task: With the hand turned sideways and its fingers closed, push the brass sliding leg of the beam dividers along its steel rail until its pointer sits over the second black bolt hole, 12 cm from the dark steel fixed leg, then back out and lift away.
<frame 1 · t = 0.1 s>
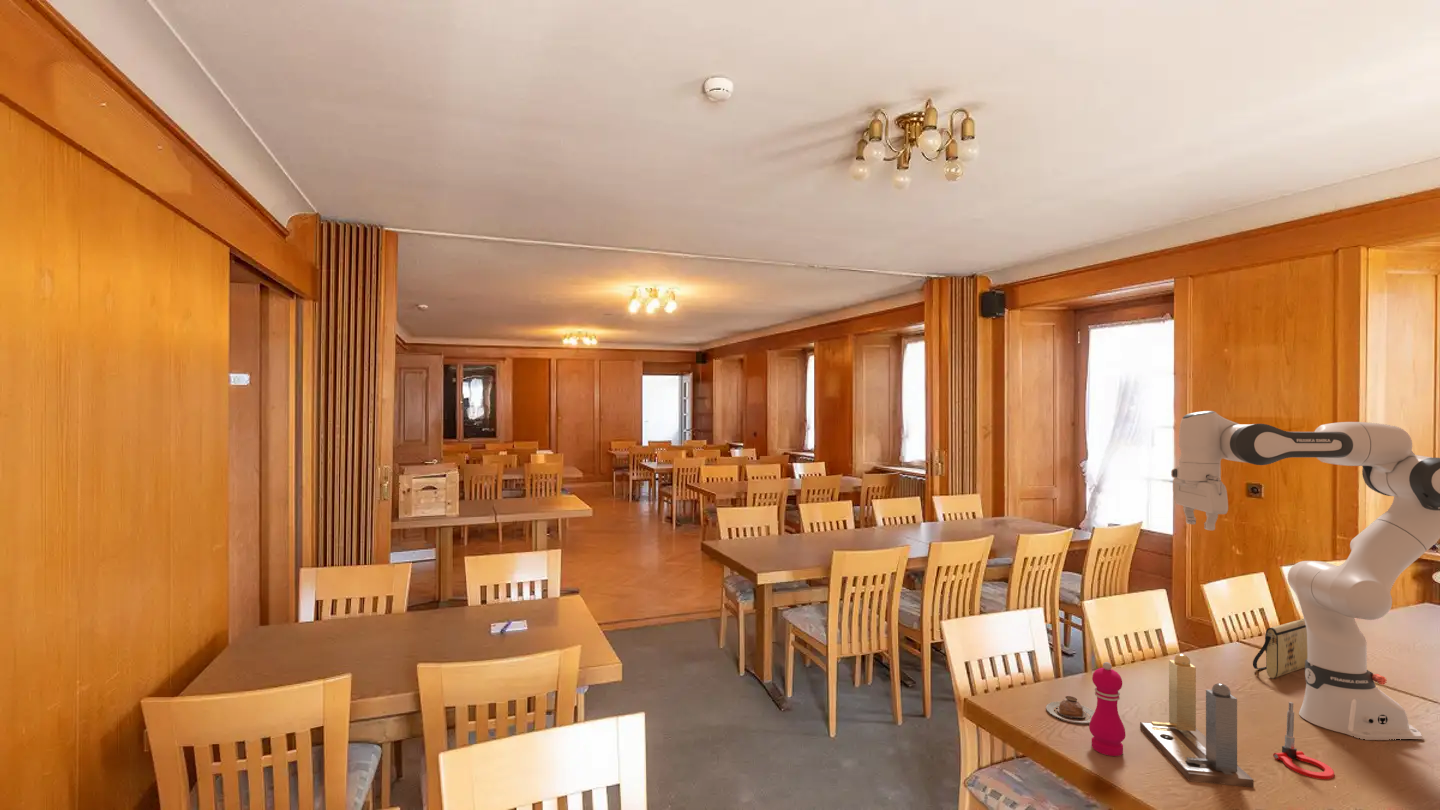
hand: (1200, 526, 175), 48 cm above the table, tool pointing down, fingers open, 8 cm apart
pastry: (1071, 716, 173), on the table
walnut board: (1192, 755, 152), on the table
pepper mill: (1107, 750, 155), on the table
bolt strip: (1184, 746, 153), on the walnut board, point 1 cm above the table
clutch purse: (1284, 669, 204), on the table
tow hook: (1306, 768, 147), on the table
sliding leg: (1171, 690, 161), point 11 cm above the table, slide at -5.0 cm
fixed leg: (1209, 724, 145), on the bolt strip, point 11 cm above the table
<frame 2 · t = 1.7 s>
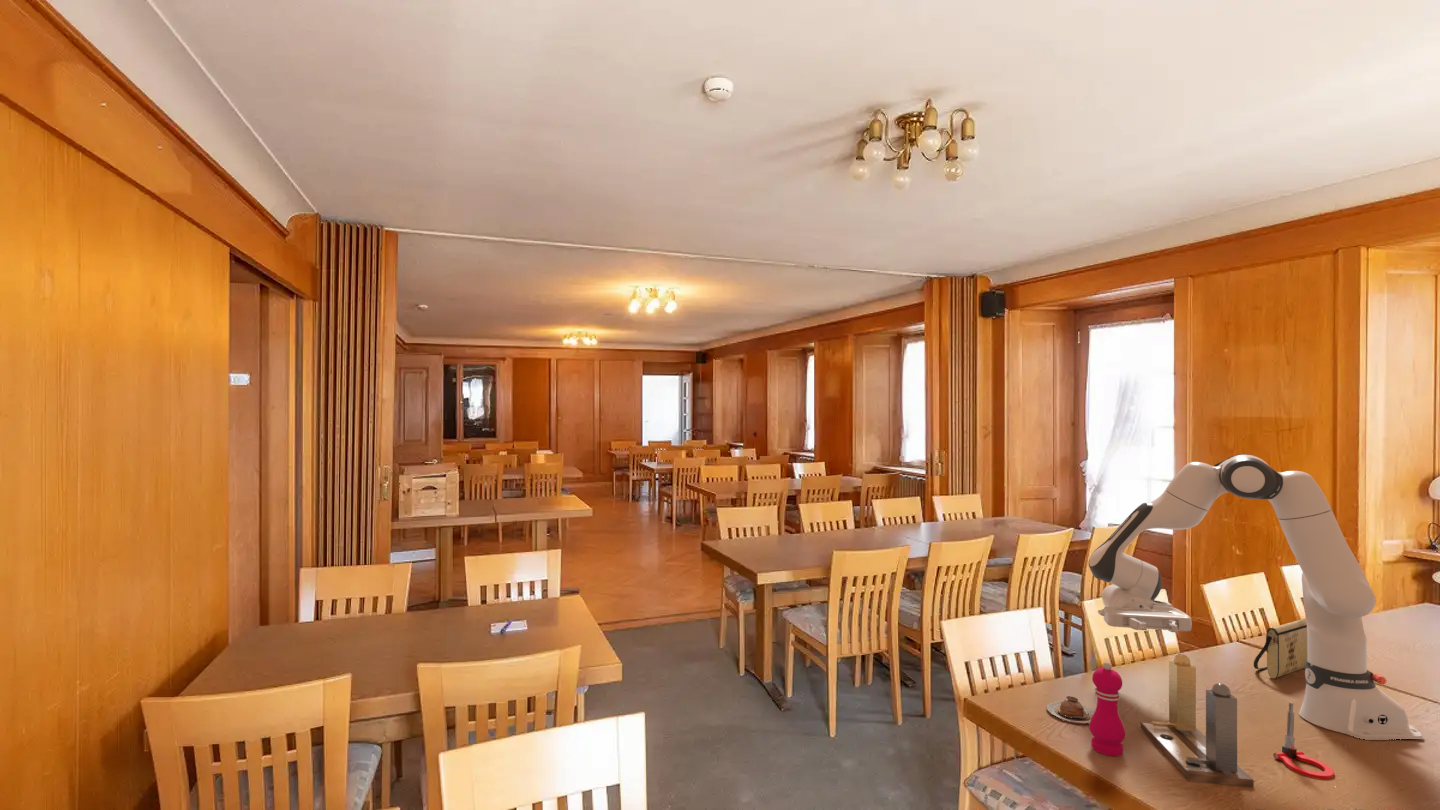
hand: (1159, 628, 173), 22 cm above the table, tool horizontal, fingers open, 6 cm apart
nothing on the table moved.
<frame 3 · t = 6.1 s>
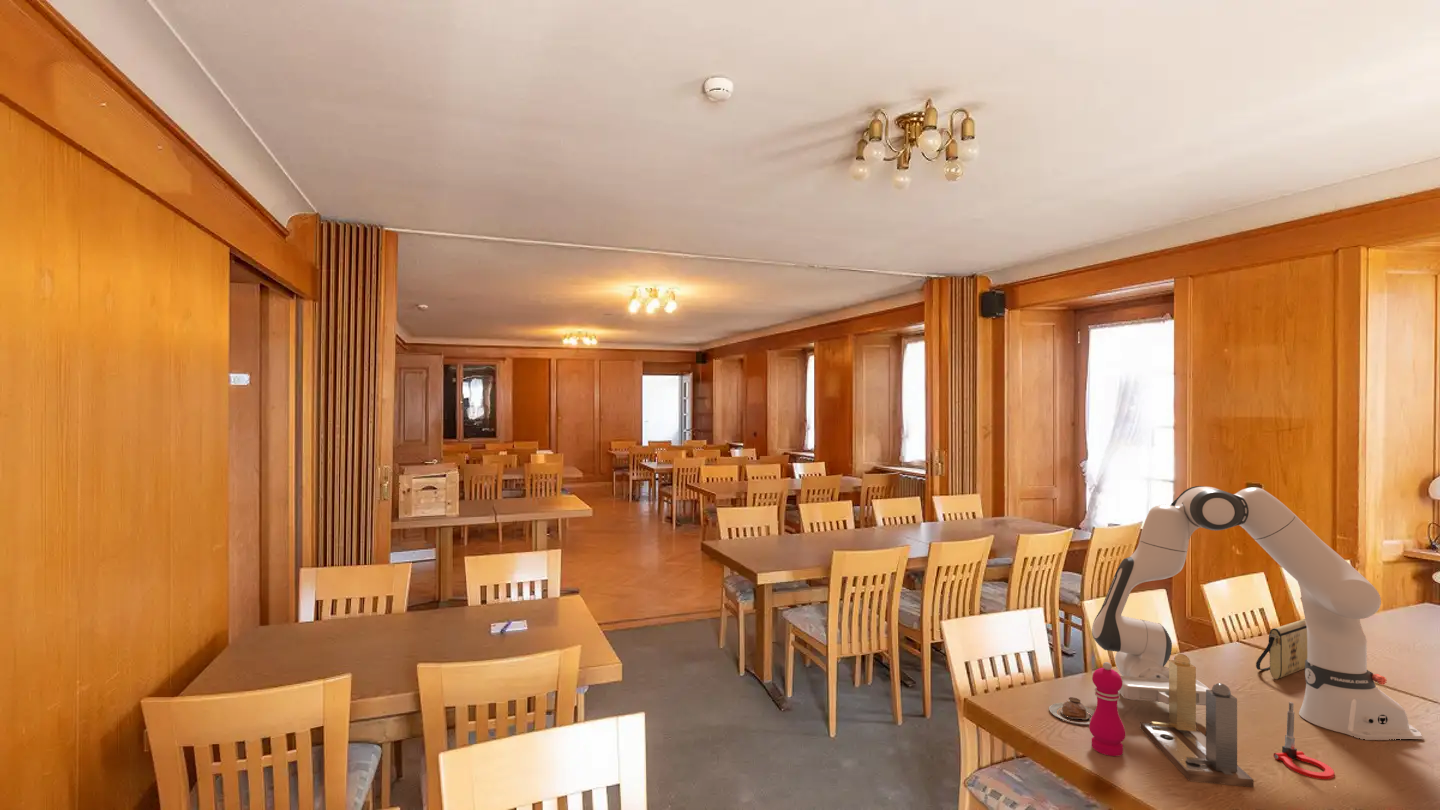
hand: (1178, 704, 163), 7 cm above the table, tool horizontal, fingers closed, pressing on sliding leg
sliding leg: (1171, 690, 161), point 11 cm above the table, slide at -5.0 cm, touching gripper
everything else where it was.
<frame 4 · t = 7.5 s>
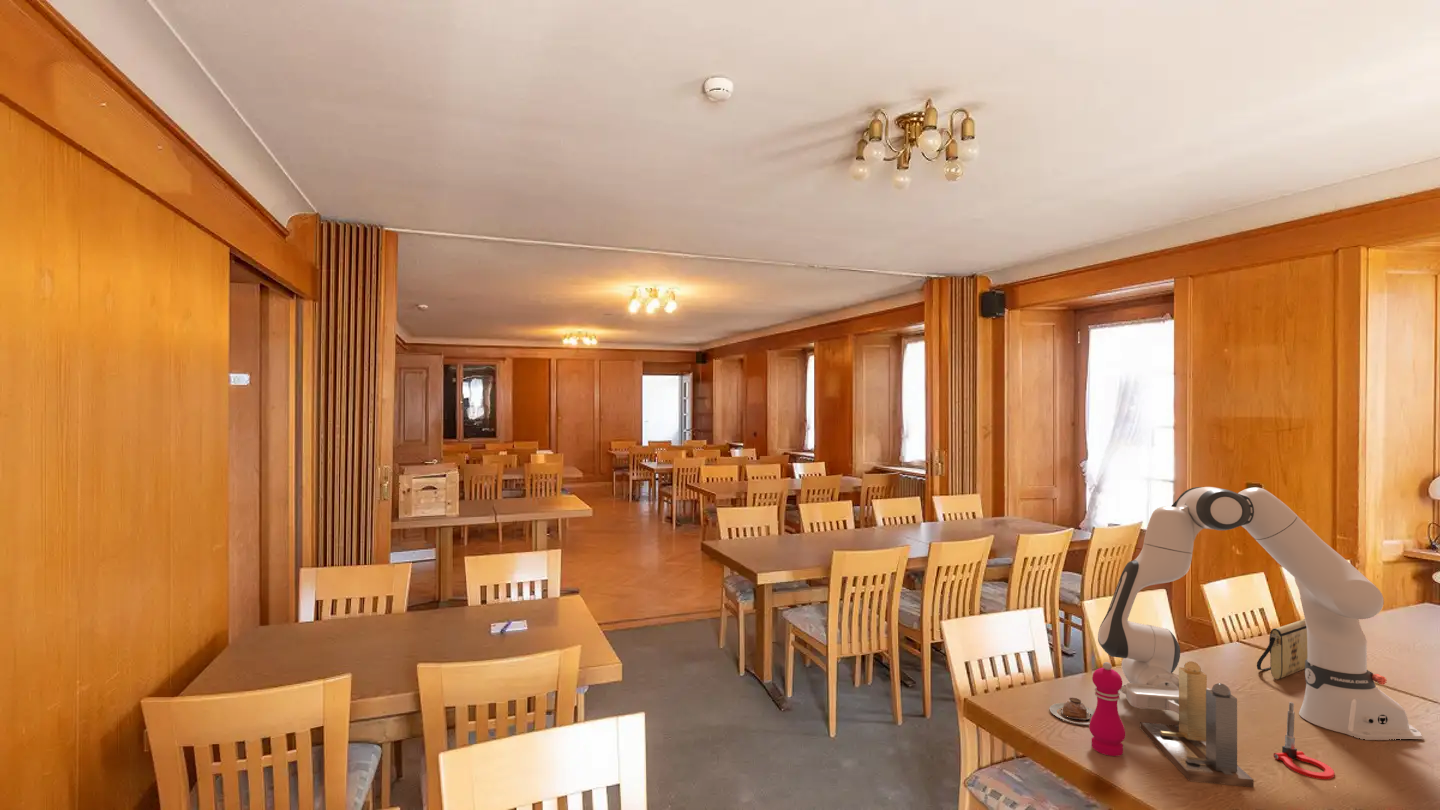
hand: (1188, 712, 158), 7 cm above the table, tool horizontal, fingers closed, pressing on sliding leg
sliding leg: (1181, 698, 157), point 11 cm above the table, slide at -0.1 cm, touching gripper
everything else where it was.
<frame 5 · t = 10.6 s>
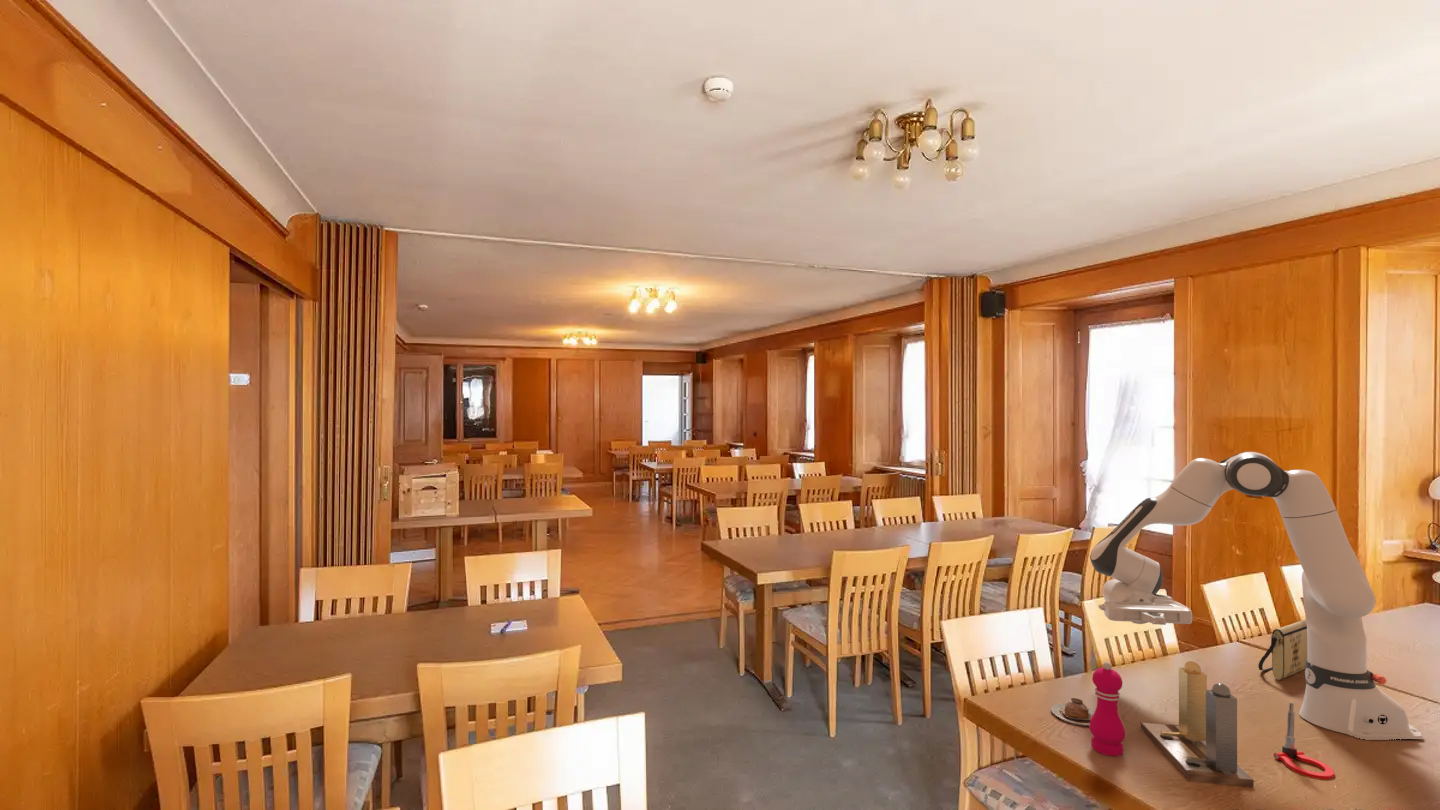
hand: (1159, 621, 173), 24 cm above the table, tool horizontal, fingers closed
sliding leg: (1181, 698, 156), point 11 cm above the table, slide at -0.1 cm
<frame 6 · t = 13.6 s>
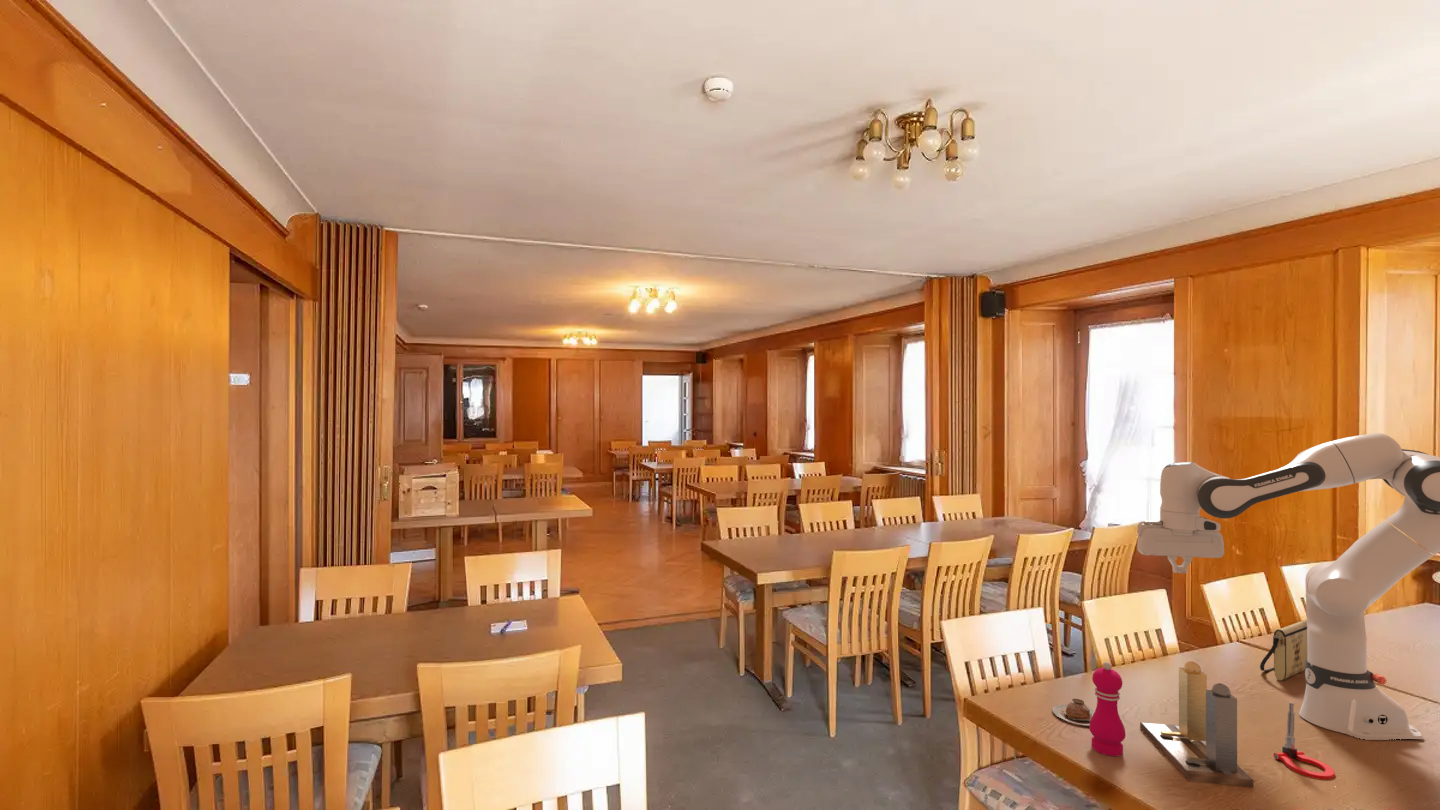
hand: (1179, 572, 183), 34 cm above the table, tool pointing down, fingers closed
at the end: sliding leg slide at -0.1 cm; sliding leg 0.1 cm from the target spot, resting on bolt strip; the gripper is holding nothing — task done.
